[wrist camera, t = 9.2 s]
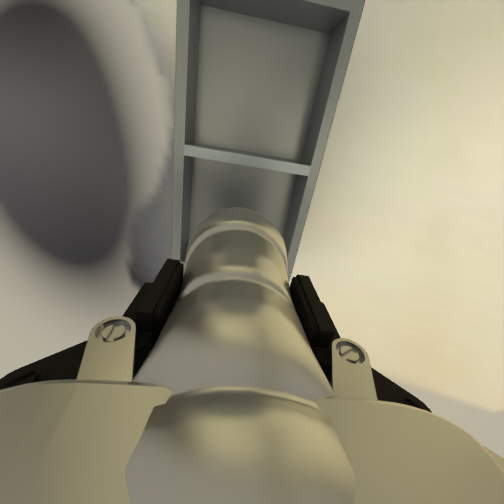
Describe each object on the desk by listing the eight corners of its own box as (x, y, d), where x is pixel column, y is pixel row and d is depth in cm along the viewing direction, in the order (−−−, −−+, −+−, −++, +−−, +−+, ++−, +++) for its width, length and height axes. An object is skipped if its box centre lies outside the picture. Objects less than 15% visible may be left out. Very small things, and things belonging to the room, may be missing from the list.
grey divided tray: (193, -6, 19) (177, -50, 14) (338, 28, 20) (365, -2, 16) (182, 246, 28) (171, 267, 24) (282, 259, 29) (289, 281, 25)
